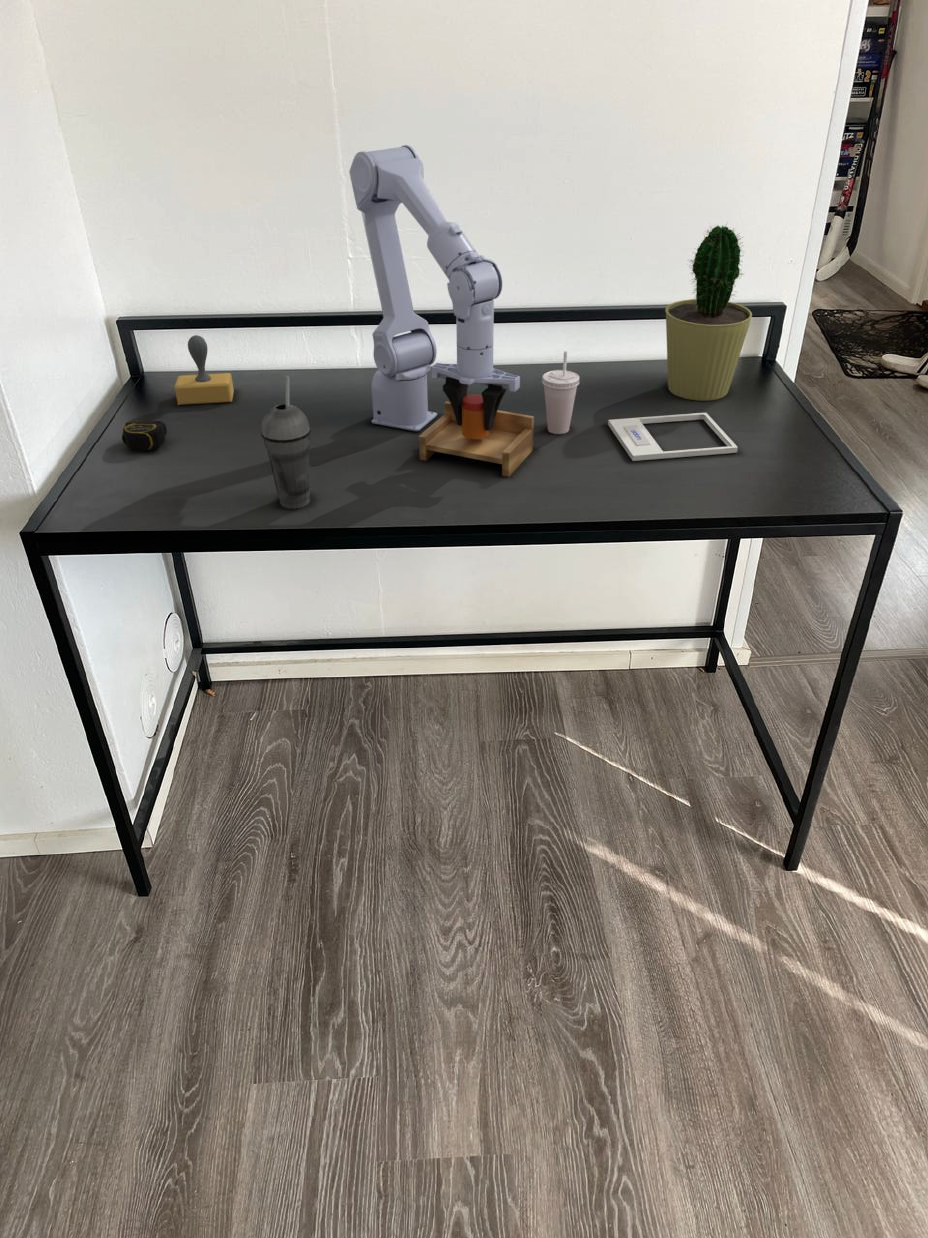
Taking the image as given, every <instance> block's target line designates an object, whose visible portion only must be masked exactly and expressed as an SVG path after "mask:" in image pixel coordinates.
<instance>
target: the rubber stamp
mask: <svg viewBox="0 0 928 1238" xmlns="http://www.w3.org/2000/svg"><path fill="white" fill-rule="evenodd" d="M187 349H188V352H189V354H190V356H191V359H192V360H193V362H194V363H195V365H196V367H197V371H198V373H197V374H187V375H179V376H177V379H176V382H175V385H174V392H175V397H176V402H177V406H187V405H188V406H189V405H203V404H207V405H208V404H222V403H232V402H233V398H234V392H235V390H234V382H233V377H232V373H229V372H223V373H222V372H221V373H207V372H206V362H207V357H208V350H209V349H208V343H207V342H206V340H205V339H204V337H203V336H201V335H198V334H195V335H192V336H190V338H189V339H188V341H187Z"/></svg>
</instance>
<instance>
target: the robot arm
mask: <svg viewBox="0 0 928 1238" xmlns="http://www.w3.org/2000/svg"><path fill="white" fill-rule="evenodd" d="M424 172H425V171H424V163H423V161H422V160H421V159H420V156H419V155H418V153H417V151H416V150H415V149H414V147H412V146H411V145H409V144H405V145H401V146H397V147H391V148H384V149H377V150H369V151H363V150H362V151H358V152H356V153H355V155H354V157H353V159H352V162H351V165H350V167H349V171H348V173H349V178H350V182H351V187H352V192H353V195H354V196H353V197H354V201H355V205H356V209H357V210H358V211H360V213H361V218H362V222H363V225H364V231H365V237H366V242H367V245H368V250H369V256H370V259H371V264H372V271H373V275H374V278H375V283H376V288H377V294H378V298H379V303H380V306H381V311H382V317H383V318H382V320H381V321H380V323H378V325H377V327H376V328H375V329H374V331H373V332H372V334H371V335H372V339H373V352H372V353H373V361H374V364H375V367H376V368H377V370H376V371H375V373H374V375H373V377H372V380H371V400H372V402H371V403H372V416H373V419H371V424H374V425H379V426H383V427H384V426H386V427H390V428H394V429H401V430H407V431H411V432H420V431H421V430H422V429H423V428H424V427H426V426H427V425H428V424H429V423H430V422H431V421H433V420H434V419H435V418H437V416H438V412H434V411H429V401H428V398H429V397H428V373H429V372H431V379H433V380H434V379H435V380H438V379H445V382H444V384H443V385H442V391H443V393H444V395H446V397H447V399H448V402H450V403H451V405H452V408H453V411H454V414H455V417H456V421H457V425H460V426H461V425H462V405H463V398H464V397H465V396H467V395H468V389H469V388H468V387H469V385H472V384H475V385H480V386H481V385H482V386H486V388H485V389H484V390H483V391H481V395H482V398H483V403H484V411H485V418H484V427H485V430H487V431H489V430H490V429H491V428H492V427H493V426H494V421H495V417H496V413H497V410H499V407H500V404H501V402H502V401H503V398H504V396H505V394H506V392H507V390H508V391H509V392H512V393H516V392H517V391H518V390H519V389H520V387H521V376H520V375H515V374H512V373H510V372H506V371H503V370H500V369H497V368H495V367H494V335H495V333H494V328H495V327H494V323H495V322H494V319H495V317H494V316H495V304H494V303H495V300H496V299H498V298H499V297H500V295H501V293H502V292H503V291H502V290H503V277H502V273H501V270H500V269H499V267H498V265H497V263H496V262H495V261H494V260H492V259H489V258H486V257H485V256H484V255H480V254H479V253H478V251H477V250H476V249H475V247H474V246H473V244H472V243H471V241H470V240H469V238H468V237H467V235H466V234H465V233H464V231H463V229H462V228H461V226H460V225H459V224H458V223H456V222H454V221H447V219H446V217H445V215H444V213H443V212H442V210H441V209H440V207H439V205H438V203H437V201H436V199H435V198H434V197H433V193H432V192H431V190H430V188H429V187H428V185H427V183H426V181H425V180H424V179H425V178H424V175H425V173H424ZM401 204H403V205H404V207H405V208H406V210H407V211H408V213H409V214H410V215H411V216H412V217H413V218H414V219H415V221H416V222H417V223H418V225H419V226H420V227H421V228H422V230H423V231H424V232H425V234H426V235H427V241H426V247H427V250H428V251H429V253H430V254H431V256H432V257H433V258H434V260H435V262H436V263H437V264H438V267H440V269H441V270H442V272H443V273H444V275H445V277H446V278H447V280H448V282H447V283H446V285H447V286H446V287H447V291H448V296H449V298H450V300H451V303H452V304H451V305H452V312H453V316H454V317H455V318H456V320H455V322H456V323H455V324H456V327H455V329H456V363H443V362H436V358H437V352H438V351H437V344H436V340H435V339H434V336H433V335H432V333H431V330H430V326H429V322H428V321H427V320H426V319H425V318H424V317H421V316H420V315H418V314H416V313H415V310H414V306H413V299H412V295H411V290H410V285H409V279H408V275H407V269H406V265H405V260H404V255H403V250H402V244H401V240H400V234H399V230H398V225H397V220H396V212H397V211H398V208H399V207H400V205H401ZM435 362H436V363H435ZM434 363H435V364H434Z"/></svg>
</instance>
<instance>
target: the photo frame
mask: <svg viewBox="0 0 928 1238" xmlns="http://www.w3.org/2000/svg"><path fill="white" fill-rule="evenodd" d="M697 420H703V421H704V423H706V424H707V425H708V427H709V428H710V429H711V430H712V431H713V432H714V433H715V435H717V436H718V438H719V439H720V440H721V441H722V442H723V443H724V444H725V446H716V447H715V446H714V447H705V448H690V449H679V450H678V449H677V450H667V451H665V450H662V448H661V447H660V445H659V444H658V442H657V441H656V440H655V439H654V437H653V436H652V435H651V433H650V432H649V430H648V429H647V428H646V427H645V425H646V424H658V423H671V422H684V421H697ZM644 424H645V425H644ZM607 425H608V427H609V428H610V430H611V431H612V433H613V435H614V436H615V437H616V439H617V440H618V442H619V444H620V445H621V447H623V449H624V450H625V452H626V454H627V455H628V457H629V458H630V459H631V462H636V461H637V462H638V461H648V460H661V459H675V458H685V457H698V456H699V457H700V456H712V455H725V454H735V453H738V449H739V447H738V446H737V445H736V443H735V442H734V441H733V440H732V439H731V438H730V437H729V436H728V435H727V434H726V432H725V431H724V430H723V429H722V428H721V427H720V426H719V425H718V423H716V421H715V420H714V419H713V418H712V417H711V416H710V415H709V414H708V413H707V412H695V413H682V414H670V415H668V414H667V415H656V416H655V415H653V416H643V417H630V418H629V417H628V418H616V419H615V418H614V419H608V422H607Z"/></svg>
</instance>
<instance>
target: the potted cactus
mask: <svg viewBox="0 0 928 1238" xmlns="http://www.w3.org/2000/svg"><path fill="white" fill-rule="evenodd" d="M728 223H729V221H727V222H726V224H724V225H721V226H720V225H716V224H714V227H712V225H711V224H709V225H710V226H708V227H709V228H708V229H707V228H706V230H704V232H705V233H704V232H702V233H703V236H704V237H703V239H701V241H702V242H700V244H699V245H698V247H697V248H696V247H694V249H695V250H696V251H694V252H693V251H692V253H693V254H694V258H693V259H692V260H688V262H689V263H691V264H692V266H691V265H688V268H689V270H690V269H691V270H690V271H691V273H690V275H691V276H693V275H694V277H692V279H690V280H689V282H692V283H691V284H694V287H693V289H692V290H691V291H692V292H691V293H690V294H691V295H695V297H693V298H689V299H682V300H677V301H675V302H672V303H669V304H668V305H667V306H666V307H665V310H664V311H665V326H666V327H665V329H666V358H667V359H666V361H667V362H666V364H667V387H668V388H667V389H668V391H669V392H670V393H672V394H673V395H675V396H677V397H679V398H682V399H685V400H692V401H714V400H719V399H722V398H724V397H726V396H727V395H728V393H729V391H730V387H731V385H732V382H733V379H734V376H735V371H736V369H737V365H738V362H739V359H740V356H741V353H742V350H743V346H744V343H745V340H746V337H747V334H748V330H749V328H750V325H751V321H752V317H753V313H752V311H751V309H749V308H747V306H743V305H741V304H739V303H736V302H732V301H730V300H734V298H733V297H734V296H736V294H735V293H738V294H739V292H738V291H736V290H735V291H734V286H735V285H736V283H735V282H737V281H738V280H739V279H741V276H743V275H744V273H743V272H741V268H740V267H739V266H741V267H743V266H742V264H741V263H742V260H741V257H743V255H741V253H744V252H745V251H744V250H743V248H742V247H744V244H743V243H744V241H743V242H742V241H741V239H743V238H744V236H741V235H740V234H741V232H740V233H735V232H736V228H735V227H733V228H732V229H731V228H729V227H728V226H727V224H728ZM709 229H710V230H709ZM740 241H741V242H740ZM741 244H742V245H741ZM733 292H734V293H733Z"/></svg>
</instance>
